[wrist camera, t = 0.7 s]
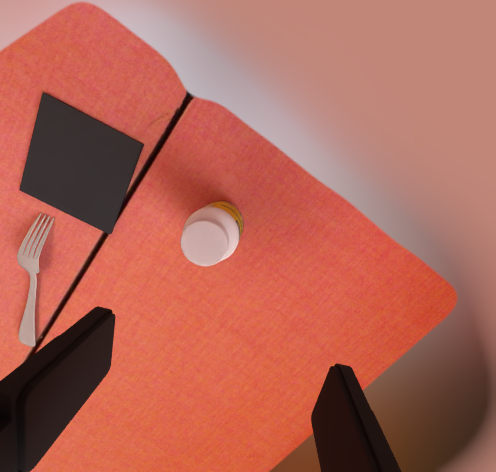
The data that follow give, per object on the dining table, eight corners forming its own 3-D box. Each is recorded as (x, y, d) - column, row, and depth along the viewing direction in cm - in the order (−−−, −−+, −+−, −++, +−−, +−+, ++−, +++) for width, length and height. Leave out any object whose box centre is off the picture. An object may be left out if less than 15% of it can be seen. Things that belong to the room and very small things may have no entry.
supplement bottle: (251, 231, 29) (247, 259, 20) (213, 250, 30) (191, 285, 20) (231, 192, 28) (215, 200, 18) (192, 212, 29) (158, 230, 19)
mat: (45, 93, 26) (42, 91, 26) (143, 144, 27) (142, 143, 27) (22, 189, 29) (19, 190, 29) (111, 233, 30) (109, 234, 30)
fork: (34, 329, 37) (16, 343, 35) (37, 211, 30) (14, 217, 27) (51, 335, 37) (35, 349, 35) (58, 219, 30) (38, 225, 27)
